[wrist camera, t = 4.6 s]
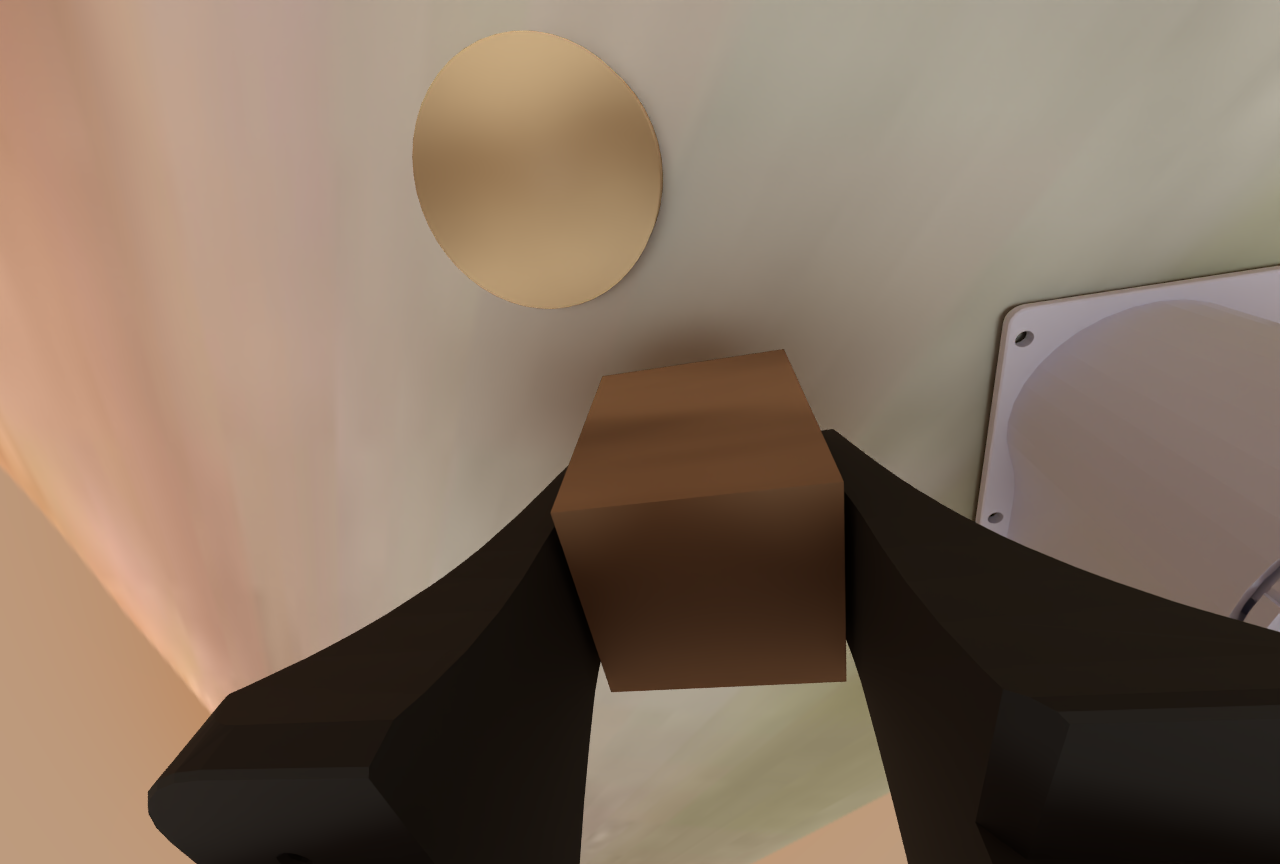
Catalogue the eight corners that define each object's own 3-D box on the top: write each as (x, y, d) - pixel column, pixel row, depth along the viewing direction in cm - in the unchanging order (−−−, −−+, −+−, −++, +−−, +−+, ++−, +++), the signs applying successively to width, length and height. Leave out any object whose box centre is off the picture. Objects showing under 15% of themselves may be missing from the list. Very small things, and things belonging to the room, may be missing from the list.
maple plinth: (679, 272, 17) (677, 287, 15) (486, 307, 18) (463, 325, 16) (639, 15, 13) (632, -4, 12) (408, 76, 15) (370, 68, 13)
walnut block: (794, 500, 13) (846, 681, 9) (636, 516, 14) (611, 692, 9) (783, 349, 11) (844, 481, 7) (602, 376, 12) (550, 513, 7)
